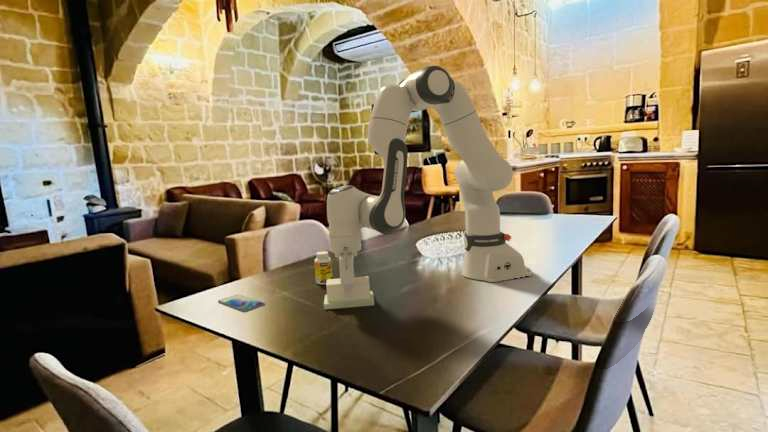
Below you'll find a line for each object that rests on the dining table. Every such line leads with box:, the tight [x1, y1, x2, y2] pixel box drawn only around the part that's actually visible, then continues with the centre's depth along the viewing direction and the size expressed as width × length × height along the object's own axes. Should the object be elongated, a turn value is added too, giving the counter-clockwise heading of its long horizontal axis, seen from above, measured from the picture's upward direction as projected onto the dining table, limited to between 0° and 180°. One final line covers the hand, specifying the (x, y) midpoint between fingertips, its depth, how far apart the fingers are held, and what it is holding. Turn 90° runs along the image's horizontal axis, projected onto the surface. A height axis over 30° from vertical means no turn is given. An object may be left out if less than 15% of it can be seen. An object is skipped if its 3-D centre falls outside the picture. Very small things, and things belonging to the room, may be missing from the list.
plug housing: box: [325, 275, 371, 302], centre depth 121 cm, size 12×5×5 cm, turn 95°
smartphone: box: [217, 294, 266, 313], centre depth 126 cm, size 7×1×15 cm
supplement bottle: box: [313, 250, 333, 285], centre depth 141 cm, size 6×6×10 cm
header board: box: [323, 290, 375, 311], centre depth 121 cm, size 14×8×5 cm, turn 95°
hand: (348, 291), depth 121 cm, fingers open, 8 cm apart
